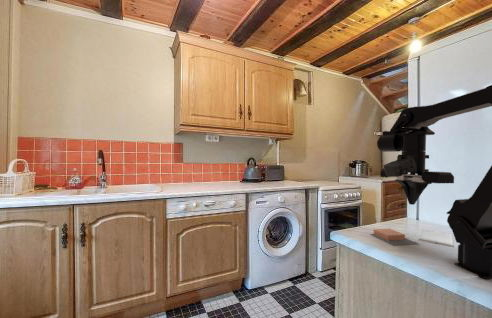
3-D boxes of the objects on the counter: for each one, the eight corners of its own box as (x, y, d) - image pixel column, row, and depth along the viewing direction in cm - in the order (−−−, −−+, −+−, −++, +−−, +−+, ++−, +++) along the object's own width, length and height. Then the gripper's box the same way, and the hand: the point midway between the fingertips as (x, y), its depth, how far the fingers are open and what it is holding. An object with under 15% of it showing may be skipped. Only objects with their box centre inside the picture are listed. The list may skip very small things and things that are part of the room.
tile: (404, 234, 71) (389, 228, 77) (388, 235, 70) (373, 229, 76) (404, 239, 71) (389, 233, 77) (387, 240, 70) (373, 234, 76)
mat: (420, 245, 68) (420, 244, 68) (393, 247, 66) (393, 245, 66) (392, 234, 77) (392, 232, 77) (369, 235, 76) (369, 234, 76)
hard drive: (421, 228, 80) (418, 237, 71) (452, 234, 75) (454, 245, 66) (421, 233, 80) (418, 243, 71) (452, 239, 75) (454, 250, 66)
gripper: (366, 151, 75) (365, 199, 75) (421, 150, 57) (419, 213, 57) (395, 152, 77) (394, 198, 78) (456, 151, 59) (454, 211, 59)
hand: (411, 204), depth 68 cm, fingers closed
